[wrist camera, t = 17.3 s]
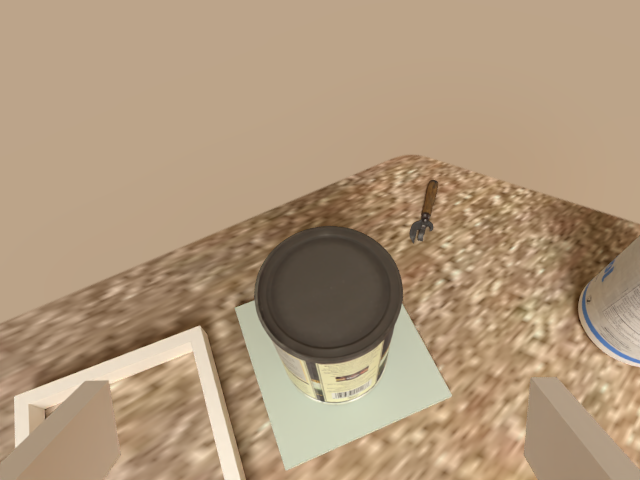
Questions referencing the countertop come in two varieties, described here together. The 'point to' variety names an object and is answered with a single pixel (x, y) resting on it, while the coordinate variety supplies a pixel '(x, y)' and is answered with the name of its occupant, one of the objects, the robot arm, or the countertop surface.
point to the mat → (348, 419)
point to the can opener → (425, 212)
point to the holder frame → (192, 340)
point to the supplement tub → (615, 307)
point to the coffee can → (330, 311)
